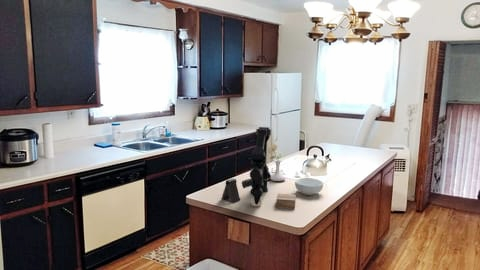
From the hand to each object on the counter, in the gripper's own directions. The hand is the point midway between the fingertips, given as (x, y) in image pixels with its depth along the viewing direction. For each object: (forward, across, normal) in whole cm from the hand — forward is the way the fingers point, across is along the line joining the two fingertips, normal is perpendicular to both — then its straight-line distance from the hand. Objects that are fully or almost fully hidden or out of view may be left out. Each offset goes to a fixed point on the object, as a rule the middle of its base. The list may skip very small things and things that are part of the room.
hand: (256, 202), depth 205 cm
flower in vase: (+1, -50, +10) cm, 51 cm away
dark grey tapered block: (+1, -5, -15) cm, 16 cm away
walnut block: (+1, -2, +16) cm, 16 cm away
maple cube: (+1, 0, 0) cm, 1 cm away
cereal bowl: (+1, -26, +30) cm, 40 cm away
